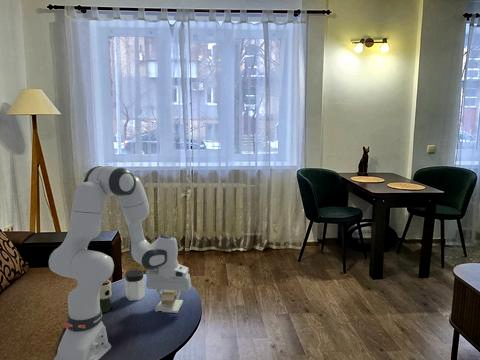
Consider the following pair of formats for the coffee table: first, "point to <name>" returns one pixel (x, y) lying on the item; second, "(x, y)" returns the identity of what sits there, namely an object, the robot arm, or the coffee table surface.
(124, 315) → the coffee table surface
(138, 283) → the jar
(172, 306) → the base plate
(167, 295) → the maple block
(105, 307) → the character mug
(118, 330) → the coffee table surface
